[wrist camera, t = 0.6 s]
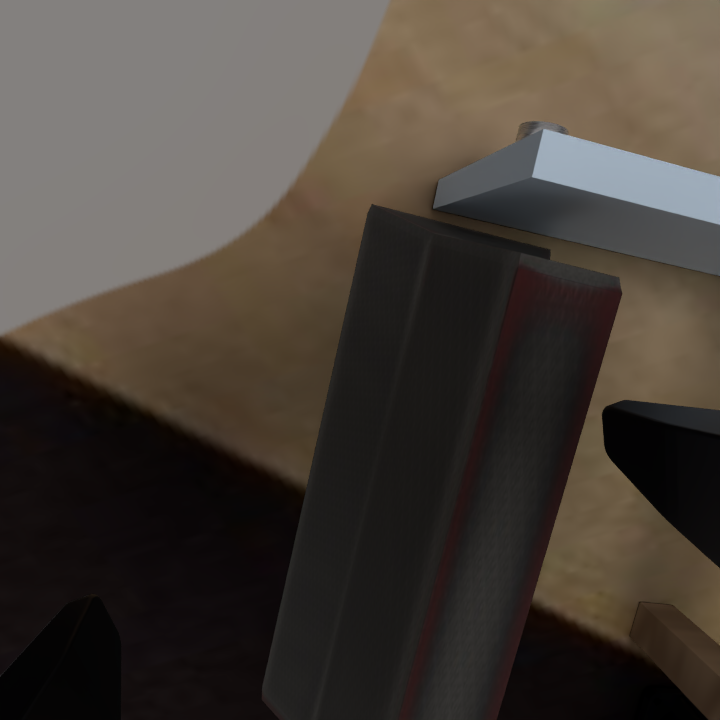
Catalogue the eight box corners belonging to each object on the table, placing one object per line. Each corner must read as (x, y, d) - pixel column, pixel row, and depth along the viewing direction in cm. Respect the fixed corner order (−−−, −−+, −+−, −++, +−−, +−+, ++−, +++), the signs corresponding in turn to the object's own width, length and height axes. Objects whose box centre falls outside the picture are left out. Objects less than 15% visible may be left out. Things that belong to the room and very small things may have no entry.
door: (769, 228, 25) (1032, 211, 16) (752, 283, 26) (1000, 295, 17) (446, 145, 22) (557, 70, 14) (432, 209, 23) (532, 176, 14)
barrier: (427, 707, 28) (509, 948, 18) (257, 694, 26) (246, 951, 16) (551, 251, 24) (734, 244, 15) (365, 203, 23) (432, 160, 13)
